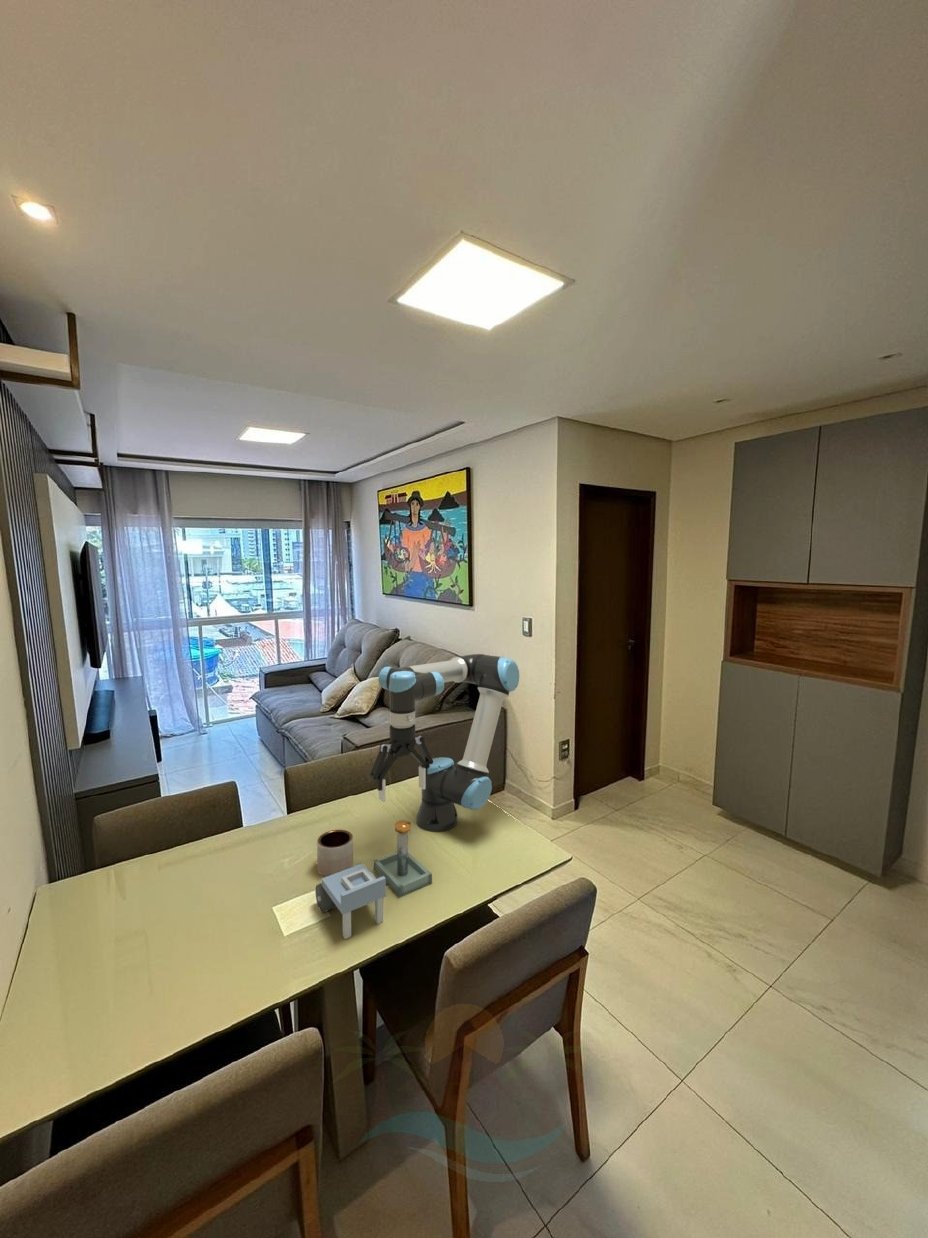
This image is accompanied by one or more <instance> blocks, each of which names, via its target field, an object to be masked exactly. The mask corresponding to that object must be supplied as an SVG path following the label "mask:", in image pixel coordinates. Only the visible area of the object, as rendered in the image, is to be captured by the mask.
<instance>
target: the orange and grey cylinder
mask: <svg viewBox="0 0 928 1238" xmlns="http://www.w3.org/2000/svg"><path fill="white" fill-rule="evenodd" d="M411 827H412V824H411V821H409V820H404V819H403V820H402V819H400V820H398V821H396V822H395V824H394V828H395V829H394V830H395V832H396V833H397V834H396V835H397V843H396V844H397V846H396V847H397V851H396V852H397V875H399V876H406V875H407V874H408V852H409V832H410V831H411Z"/></svg>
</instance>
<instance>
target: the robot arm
mask: <svg viewBox="0 0 928 1238" xmlns="http://www.w3.org/2000/svg"><path fill="white" fill-rule="evenodd" d="M377 682H378V685H379V686H380V687H381V688H383V689H384V690H387V691H388V692H389V698H388V699H389V724H390V725H389V739H390V740H389V743H387V744H384V743H380V744H379V752H378V754H377V755H376V758H375V762H374V763H373V766H372V769H371V771H370V773H369V777H370V779H372V780H374V781H375V783H376V784H375V786H376V787H375V788H376V790H377V791H378V800H380V801H381V802H383V803H385V802H386V800H387V799H386V798H387V797H386V795H387V794H386V789H387V788H386V785H387V784H386V779H385V776H386V775H387V773H388V771H389V770H390V768H391V767H392V766H393V764H394V762H395V761H396V760H398V757H399V758H402V757H404V756H409V755H412V757H413V758H414V759H416V761H417V762H418V763H419V764H420V765H419V766H418V787H419V788H421V801H420V805H419V807H418V812H417V814H416V824H417V825H418V827H419V828H421V829H423V830H425V831H429V832H445V831H449V830H450V829H452V828H454V827H456V825H457V824H458V822H459V821H458V819H459V816H458V812H457V809H456V805H455V804H457V806H458V805H459V806H461V807H463V808H465V809H469V810H474V811H475V810H476V811H477V810H479V809H481V808H482V807H483V806H484V805H486V803H487V802H488V801H489V799H490V795H491V793H492V789H493V786H492V780H491V779H490V777H489V773H490V770H489V769H488V768H487V765H488V764H487V763H488V760H489V756H490V752H491V750H492V749H491V748H492V745H493V740H494V736H495V732H496V728H497V725H498V722H499V718H500V714H501V713H500V712H501V709H502V707H503V702H504V700H505V699H508V697H509V695H510V692H514V691H516V688H518V686H519V684H520V683H519V682H520V669H519V666H518V664H517V663H516V661H514V660H513V659H511V658H508V657H504V656H496V655H489V654H482V653H473V654H467V655H466V654H465V655H460V656H453V657H452V658H451V659H450V660H444V661H437V662H431V663H423V664H422V663H421V664H415V665H410V666H400V667H394V666H384V667H383V668H382V669H381V670H380V672H379V674H378V680H377ZM449 682H454V683H459V684H460V683H468V684H474V685H477V690H478V692H479V698H478V700H477V701H478V702H477V705H476V710H475V712H474V713H475V714H474V715H473V719H472V720H473V721H472V724H471V727H470V731H469V734H468V739H467V743H466V746H465V750H464V753H463V757H462V759H461V760H459V761H458V762H457V763H456V766H455V762H454V759H452V758H450V757H435V758H434V757H432V756H431V754H430V752H429V749H428V747H427V745H426V743H425V737H424V736H421V735H420V734H417V736H416V725H415V724H416V702H419V701H423V700H426V699H430V698H434V697H435V696H439V695H440V694H441V693H442V692H443V691H444V689H445V683H449ZM416 744H417V746H418V747H419V750H420V752H421V753H422V756H423V757H422V756H421V754H420V753H418V751H417V749H415V748H414V747H415V745H416Z"/></svg>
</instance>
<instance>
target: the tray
mask: <svg viewBox="0 0 928 1238" xmlns="http://www.w3.org/2000/svg"><path fill="white" fill-rule="evenodd" d="M373 871H374V872H375V874H377V875H378V876H379V878H380V877H382V876H384V877H385V878H386V886H388V887H389V888H390V890H392V891H393V893H395V894H396V896H397V897H398V898H402V897H404V896H406V895H409V894H411V893H412V892H415V891H417V890H420V889H422V888H424V887H427V886H428V885H431V884H433V873H432V872H431V871H430V870H429V869H427V867H425V866H424V865H423V864H422V863H421V862H419V860H418V859H416V858H415V857H414V856H413V855H412V854H411V853H410V852H409V851H408V874H407V875H406V876H399V875H397V851H395V852H392V853H390V854H388V855H387V854H386V855H384V856H382V857H378V858H376V859H374V860H373Z"/></svg>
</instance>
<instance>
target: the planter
mask: <svg viewBox="0 0 928 1238" xmlns="http://www.w3.org/2000/svg"><path fill="white" fill-rule="evenodd" d="M316 840H317V841H316V844H317V845H316V847H317V851H316V852H317V853H316V855H317V859H316V860H317V861H316V864H317V872H318V873H319V874H320V875H322V876H324V877H327V876H330V875H333V874H335V873H338V872H341V871H343V870H346V869H349V868H351V867H354V836H353V834H352V833H351V832H350V831H349V830H346V829H332V830H328V831H325V832H324V833H322V834H321V835H319V836H318V838H317V839H316Z"/></svg>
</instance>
